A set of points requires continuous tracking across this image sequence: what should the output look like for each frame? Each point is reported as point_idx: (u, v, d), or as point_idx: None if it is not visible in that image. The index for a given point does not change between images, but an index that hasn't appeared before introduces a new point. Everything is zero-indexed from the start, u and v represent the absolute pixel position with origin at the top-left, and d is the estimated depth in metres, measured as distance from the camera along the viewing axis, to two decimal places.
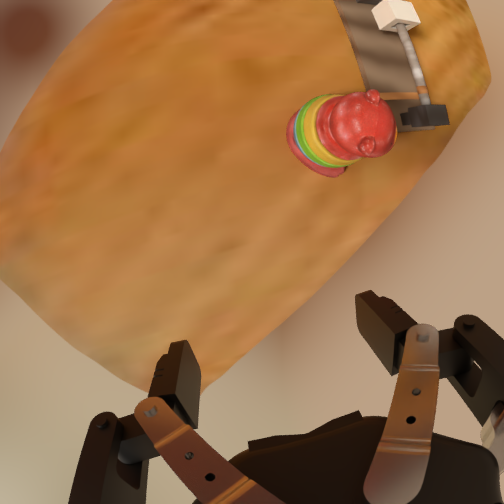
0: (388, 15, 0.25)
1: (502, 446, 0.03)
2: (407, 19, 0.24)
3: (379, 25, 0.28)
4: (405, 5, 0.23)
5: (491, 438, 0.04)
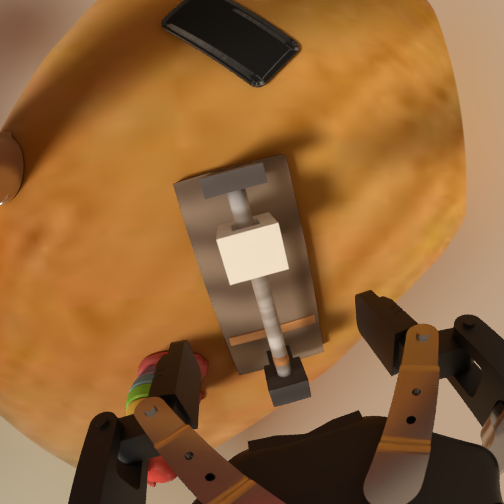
0: None
1: (502, 446, 0.03)
2: (257, 275, 0.23)
3: None
4: (260, 239, 0.22)
5: (491, 438, 0.04)
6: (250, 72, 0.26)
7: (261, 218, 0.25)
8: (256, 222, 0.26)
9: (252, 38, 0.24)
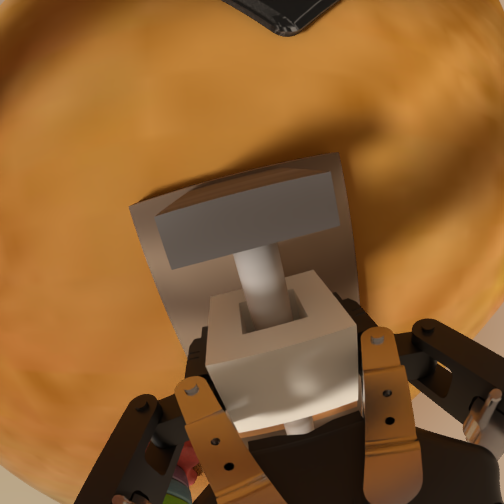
0: None
1: (492, 438, 0.04)
2: (294, 417, 0.10)
3: None
4: (310, 361, 0.09)
5: (477, 433, 0.04)
6: (273, 11, 0.12)
7: (304, 292, 0.11)
8: (291, 296, 0.12)
9: None
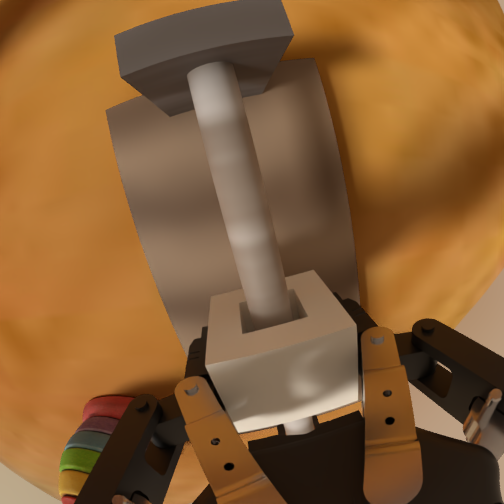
0: None
1: (492, 438, 0.04)
2: (294, 417, 0.10)
3: None
4: (310, 361, 0.09)
5: (477, 433, 0.04)
6: None
7: (304, 292, 0.11)
8: (292, 296, 0.12)
9: None
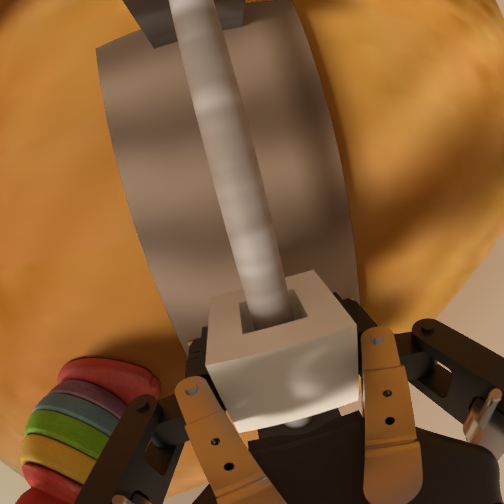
0: None
1: (492, 438, 0.04)
2: (294, 417, 0.10)
3: None
4: (310, 361, 0.09)
5: (477, 433, 0.04)
6: None
7: (304, 292, 0.11)
8: (292, 296, 0.12)
9: None
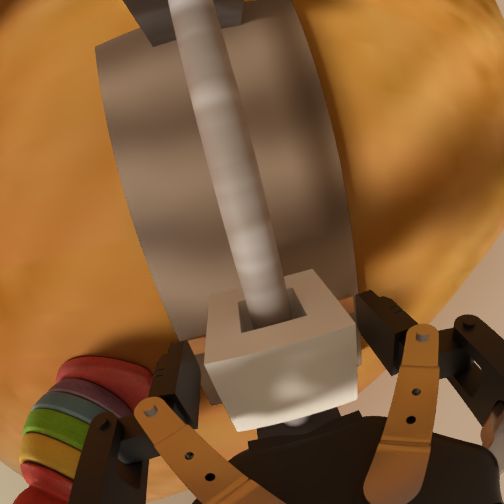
0: None
1: (502, 446, 0.03)
2: (293, 416, 0.10)
3: None
4: (309, 360, 0.09)
5: (491, 438, 0.04)
6: None
7: (303, 291, 0.11)
8: (290, 295, 0.12)
9: None
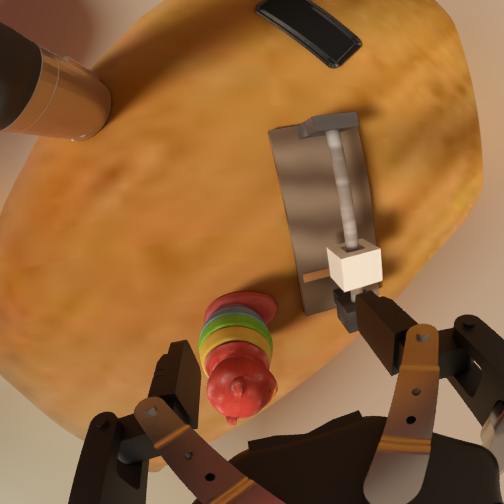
0: (339, 278, 0.31)
1: (502, 446, 0.03)
2: (362, 285, 0.30)
3: (331, 273, 0.34)
4: (368, 259, 0.29)
5: (491, 438, 0.04)
6: (327, 56, 0.31)
7: (361, 243, 0.32)
8: None
9: (328, 31, 0.29)
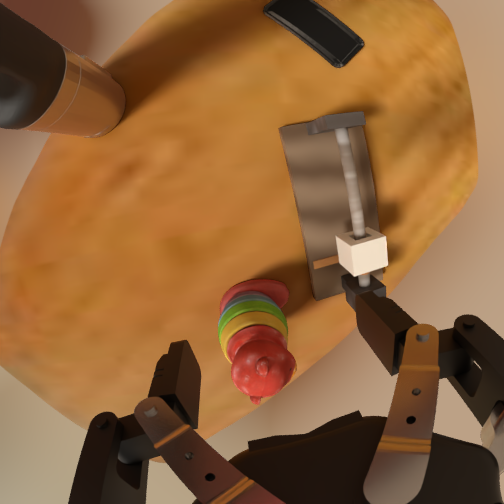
0: (348, 264, 0.34)
1: (502, 446, 0.03)
2: (370, 270, 0.33)
3: (340, 260, 0.37)
4: (375, 246, 0.32)
5: (491, 438, 0.04)
6: (333, 56, 0.32)
7: (368, 231, 0.35)
8: None
9: (333, 32, 0.31)
